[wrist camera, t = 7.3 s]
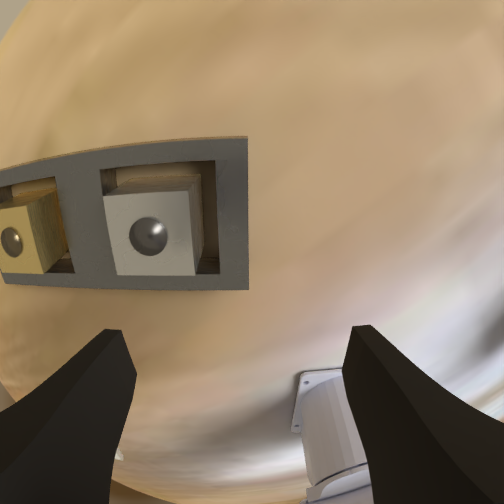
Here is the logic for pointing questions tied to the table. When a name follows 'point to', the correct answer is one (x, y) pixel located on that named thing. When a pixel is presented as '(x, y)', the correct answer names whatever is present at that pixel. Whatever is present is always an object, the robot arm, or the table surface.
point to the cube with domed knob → (156, 225)
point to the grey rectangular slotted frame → (95, 224)
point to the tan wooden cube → (31, 232)
